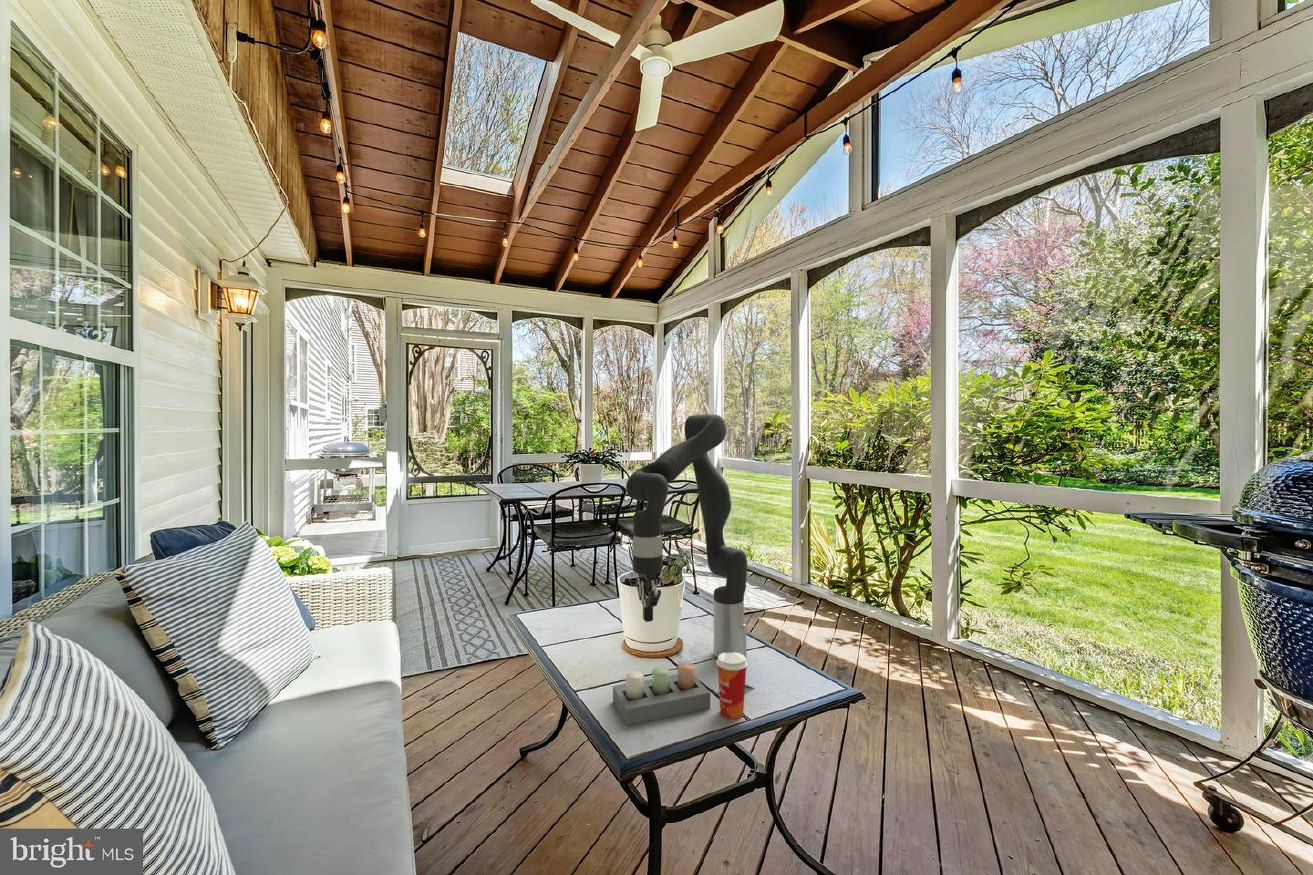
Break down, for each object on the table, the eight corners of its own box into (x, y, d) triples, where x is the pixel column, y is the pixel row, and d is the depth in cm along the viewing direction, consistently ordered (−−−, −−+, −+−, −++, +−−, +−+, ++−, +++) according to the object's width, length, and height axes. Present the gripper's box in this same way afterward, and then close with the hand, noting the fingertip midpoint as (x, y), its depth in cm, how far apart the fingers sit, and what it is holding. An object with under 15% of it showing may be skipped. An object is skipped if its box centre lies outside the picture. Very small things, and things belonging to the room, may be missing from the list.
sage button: (665, 684, 145) (665, 665, 145) (672, 692, 141) (672, 673, 141) (649, 687, 143) (649, 668, 143) (655, 695, 139) (655, 676, 139)
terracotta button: (690, 679, 147) (690, 661, 147) (697, 687, 143) (697, 668, 143) (675, 682, 146) (674, 664, 146) (681, 690, 142) (681, 671, 141)
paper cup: (713, 705, 142) (713, 651, 141) (743, 704, 142) (743, 650, 142) (719, 722, 134) (719, 665, 133) (751, 720, 135) (751, 664, 134)
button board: (690, 686, 152) (690, 671, 152) (710, 708, 140) (710, 692, 140) (613, 701, 144) (612, 686, 144) (626, 725, 133) (626, 709, 133)
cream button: (640, 689, 142) (640, 670, 142) (646, 697, 138) (645, 677, 138) (623, 692, 141) (623, 673, 141) (629, 700, 137) (629, 680, 137)
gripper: (671, 557, 134) (671, 627, 135) (652, 545, 147) (652, 609, 148) (641, 560, 132) (642, 632, 133) (625, 547, 144) (625, 613, 145)
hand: (648, 620), depth 140 cm, fingers closed
